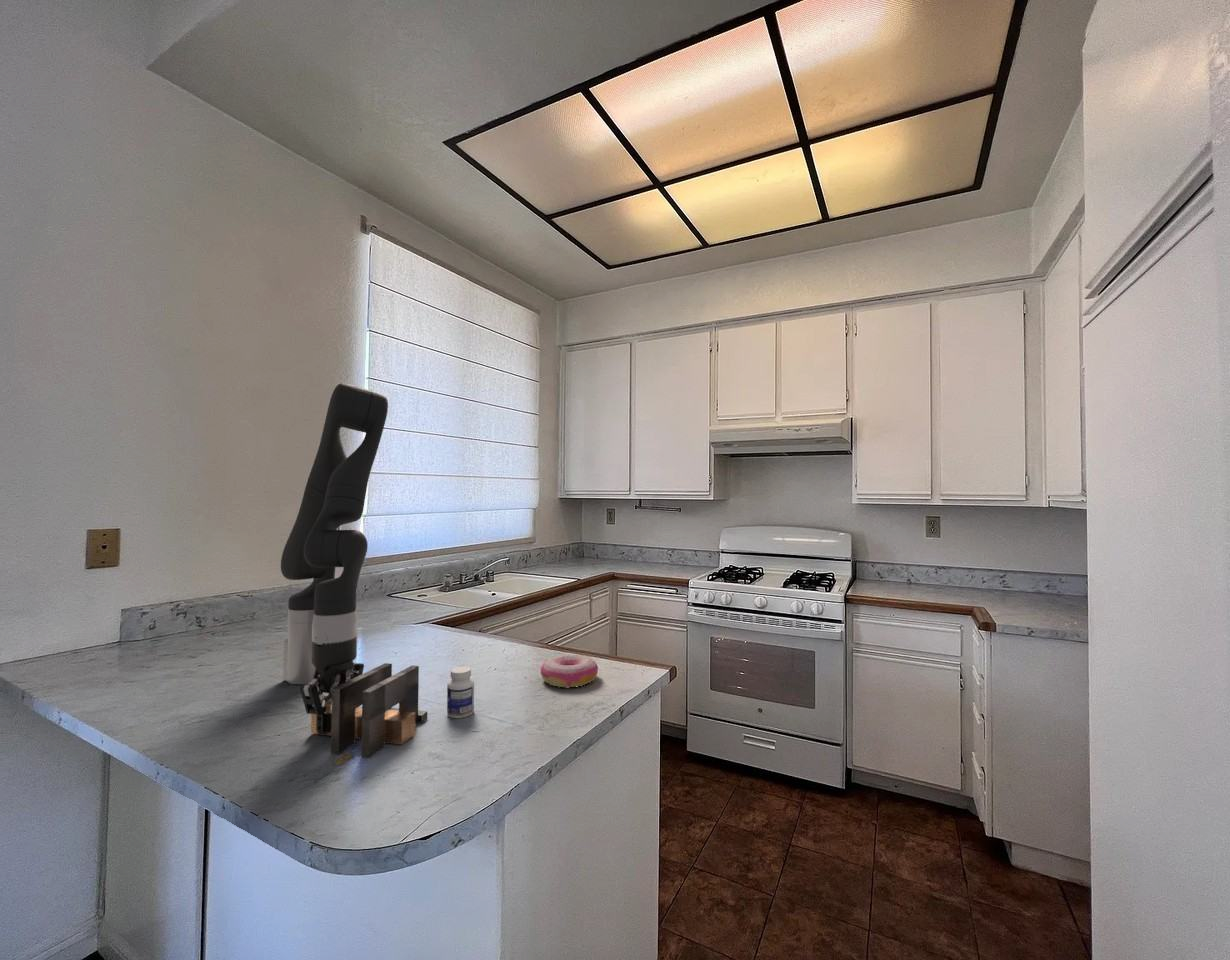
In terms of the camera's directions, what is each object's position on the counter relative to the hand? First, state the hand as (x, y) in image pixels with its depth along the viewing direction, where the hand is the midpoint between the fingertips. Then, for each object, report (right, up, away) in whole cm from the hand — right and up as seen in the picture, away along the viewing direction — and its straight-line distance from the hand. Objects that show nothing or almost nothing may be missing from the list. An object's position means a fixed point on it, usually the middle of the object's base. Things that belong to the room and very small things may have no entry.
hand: (333, 727), depth 98 cm
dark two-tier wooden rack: (+9, -1, -2) cm, 10 cm away
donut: (+42, -2, +28) cm, 50 cm away
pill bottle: (+22, -1, +8) cm, 23 cm away
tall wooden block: (+6, -1, -1) cm, 7 cm away
